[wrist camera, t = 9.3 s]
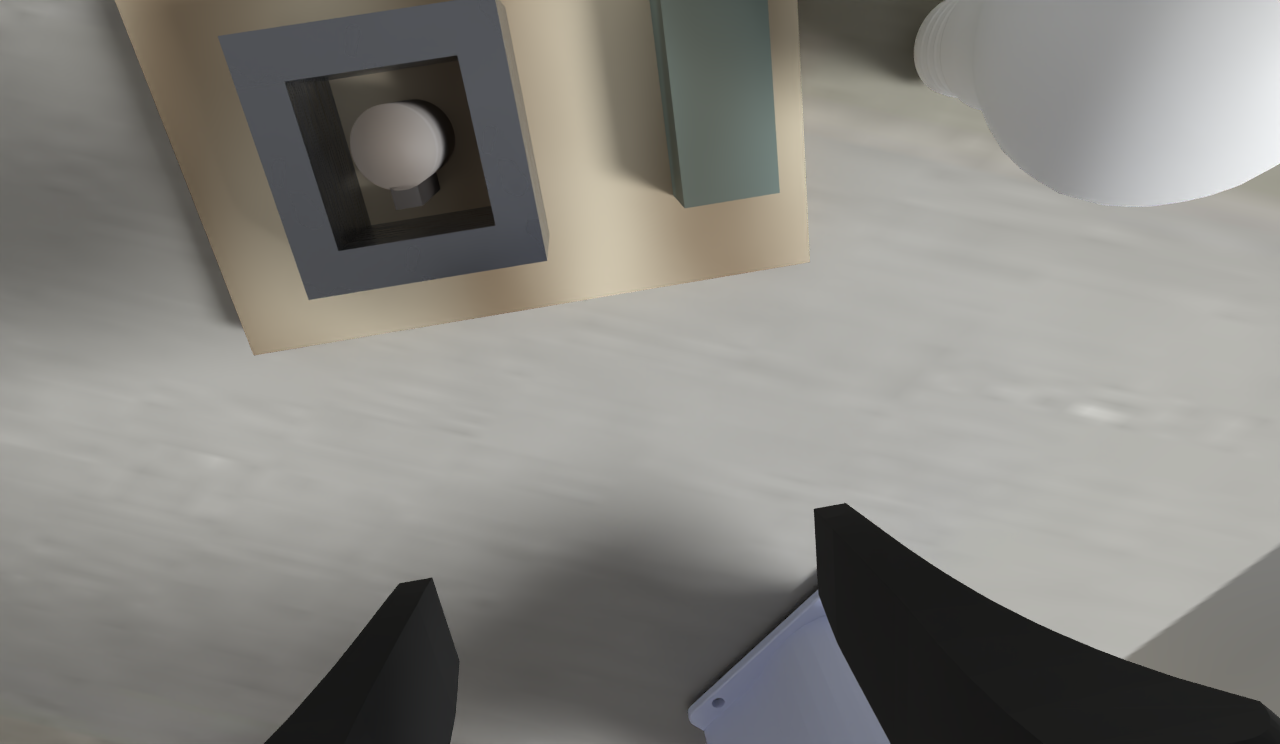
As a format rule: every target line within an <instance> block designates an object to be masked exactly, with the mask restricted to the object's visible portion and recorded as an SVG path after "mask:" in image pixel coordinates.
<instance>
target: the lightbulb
mask: <svg viewBox="0 0 1280 744" xmlns="http://www.w3.org/2000/svg"><path fill="white" fill-rule="evenodd" d="M914 62H915V67H916V70H917V73H918V75H919V77H920V78H921V80H922V82H923V83H924V84H925V85H926V86H927V87H928V88H930V89H931V90H933V91H935V92H937V93H940V94H943V95H946V96H949V97H955V98H958V99H959V100H960V101H961V102H963V103H964V104H966V105H968V106H969V107H972V108H975V109H978V110H981V111H982V113H983V115H984V118H985V120H986V122H987V125H988V127H989V129H990V131H991V133H992V134H993V136H994V138H995V139H996V141H997V142H998V144H999V146H1000V147H1001V149H1002V151H1003V152H1004V153H1005V154H1006V155H1007V156H1008V157H1009V158H1010V159H1011V160H1012V161H1013V162H1014V163H1015V164H1016V165H1017V166H1018V167H1019V168H1020V169H1022V170H1023V171H1024V172H1026V173H1027V174H1029V175H1030V176H1031V177H1033V178H1034V179H1036V180H1037V181H1039V182H1041V183H1042V184H1044V185H1046V186H1048V187H1049V188H1051V189H1053V190H1054V191H1056V192H1058V193H1060V194H1064V195H1067V196H1070V197H1074V198H1077V199H1081V200H1084V201H1088V202H1092V203H1096V204H1100V205H1107V206H1127V207H1142V206H1159V205H1165V204H1172V203H1178V202H1184V201H1189V200H1193V199H1198V198H1202V197H1206V196H1210V195H1213V194H1216V193H1219V192H1222V191H1225V190H1227V189H1230V188H1233V187H1236V186H1239V185H1241V184H1243V183H1245V182H1247V181H1248V180H1250V179H1252V178H1254V177H1256V176H1258V175H1260V174H1262V173H1263V172H1265V171H1267V170H1269V169H1271V168H1273V167H1274V166H1276V165H1278V164H1280V0H945V1H943V2H941V3H940V4H938V5H937V6H936V7H935V8H934V9H933V10H931V12H930V13H929V14H928V15H927V17H926V18H925V19H924V21H923V23H922V24H921V26H920V28H919V31H918V33H917V36H916V40H915V45H914Z"/></svg>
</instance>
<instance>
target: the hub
mask: <svg viewBox="0 0 1280 744" xmlns="http://www.w3.org/2000/svg"><path fill="white" fill-rule="evenodd" d="M218 39H219V42H220V45H221V48H222V50H223V53H224V56H225V59H226V62H227V65H228V68H229V71H230V74H231V77H232V79H233V82H234V85H235V88H236V91H237V94H238V97H239V100H240V103H241V106H242V108H243V111H244V114H245V117H246V120H247V123H248V126H249V129H250V132H251V134H252V137H253V140H254V143H255V146H256V149H257V152H258V155H259V158H260V161H261V163H262V166H263V169H264V172H265V175H266V178H267V181H268V184H269V187H270V189H271V192H272V195H273V198H274V201H275V204H276V207H277V210H278V213H279V216H280V218H281V221H282V224H283V227H284V230H285V233H286V236H287V239H288V242H289V245H290V247H291V250H292V253H293V256H294V259H295V262H296V265H297V268H298V271H299V273H300V276H301V279H302V282H303V285H304V288H305V291H306V294H307V297H308V300H312V299H318V298H324V297H331V296H337V295H343V294H349V293H355V292H361V291H367V290H373V289H379V288H385V287H391V286H397V285H403V284H410V283H416V282H422V281H428V280H434V279H440V278H446V277H452V276H458V275H464V274H470V273H476V272H482V271H489V270H495V269H501V268H507V267H513V266H519V265H525V264H531V263H537V262H543V261H547V258H548V247H549V235H550V234H549V229H548V224H547V218H546V213H545V208H544V203H543V198H542V193H541V188H540V182H539V177H538V172H537V167H536V162H535V157H534V152H533V147H532V141H531V136H530V131H529V126H528V121H527V116H526V111H525V105H524V100H523V95H522V90H521V85H520V80H519V75H518V69H517V64H516V59H515V54H514V49H513V44H512V39H511V34H510V28H509V23H508V18H507V13H506V8H505V6H504V5H503V4H502V3H501V2H500V0H453V1H447V2H440V3H433V4H427V5H420V6H413V7H407V8H400V9H393V10H387V11H380V12H374V13H367V14H360V15H354V16H347V17H340V18H334V19H327V20H321V21H314V22H307V23H301V24H294V25H287V26H281V27H274V28H267V29H261V30H254V31H248V32H241V33H234V34H228V35H221V36H218ZM458 60H459V65H460V69H461V74H462V78H463V83H464V87H465V92H466V96H467V101H468V105H469V109H470V114H471V118H472V123H473V127H474V132H475V136H476V141H477V145H478V150H479V154H480V158H481V163H482V167H483V172H484V176H485V181H486V185H487V190H488V194H489V199H490V203H491V206H488V207H481V208H475V209H469V210H463V211H457V212H450V213H444V214H438V215H432V216H426V217H419V218H413V219H407V220H401V221H395V222H388V223H382V224H376V225H371V222H370V219H369V216H368V212H367V209H366V205H365V202H364V199H363V195H362V192H361V188H360V185H359V182H358V178H357V175H356V172H355V168H354V165H353V161H352V158H351V155H350V151H349V148H348V144H347V141H346V138H345V134H344V131H343V127H342V124H341V121H340V117H339V114H338V110H337V107H336V104H335V100H334V97H333V94H332V90H331V87H330V83H329V80H335V79H341V78H348V77H354V76H361V75H367V74H374V73H380V72H387V71H393V70H400V69H406V68H413V67H419V66H426V65H432V64H439V63H445V62H452V61H458Z"/></svg>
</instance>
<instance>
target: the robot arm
mask: <svg viewBox="0 0 1280 744" xmlns="http://www.w3.org/2000/svg"><path fill="white" fill-rule="evenodd" d="M814 519H815V538H816V557H817V576H818V590H817V591H816V592H815V593H813V594H812V595H811V596H810V597H809V598H808V599H807V600H806V601H805V602H804V603H803V604H801V605H800V606H799V607H798V608H797V609H796V610H795V611H794V612H793V613H792V614H791V615H789V616H788V617H787V618H786V619H785V620H784V621H783V622H782V623H781V624H780V625H779V626H777V627H776V628H775V629H774V630H773V631H772V632H771V633H770V634H769V635H768V636H767V637H765V638H764V639H763V640H762V641H761V642H760V643H759V644H758V645H757V646H756V647H755V648H753V649H752V650H751V651H750V652H749V653H748V654H747V655H746V656H745V657H744V658H743V659H741V660H740V661H739V662H738V663H737V664H736V665H735V666H734V667H733V668H732V669H731V670H729V671H728V672H727V673H726V674H725V675H724V676H723V677H722V678H721V679H720V680H719V681H717V682H716V683H715V684H714V685H713V686H712V687H711V688H710V689H709V690H708V691H707V692H705V693H704V694H703V695H702V696H701V697H700V698H699V699H698V700H697V701H696V702H695V703H693V704H692V705H691V706H690V708H689V709H688V717H689V721H690V723H691V724H693V725H694V726H696V727H698V728H699V729H701V730H703V731H704V733H705V738H706V743H707V744H1280V718H1279V717H1278V716H1277V715H1275V714H1274V713H1273V712H1272V711H1271V710H1270V709H1268V708H1267V707H1266V706H1265V705H1263V704H1262V703H1261V702H1260V701H1256V700H1253V699H1249V698H1246V697H1242V696H1239V695H1235V694H1231V693H1228V692H1225V691H1221V690H1218V689H1214V688H1211V687H1207V686H1204V685H1200V684H1197V683H1193V682H1190V681H1186V680H1183V679H1179V678H1176V677H1173V676H1170V675H1167V674H1164V673H1161V672H1158V671H1155V670H1152V669H1149V668H1147V667H1144V666H1141V665H1138V664H1135V663H1132V662H1129V661H1126V660H1124V659H1121V658H1118V657H1116V656H1113V655H1110V654H1108V653H1105V652H1102V651H1100V650H1097V649H1095V648H1092V647H1090V646H1088V645H1085V644H1083V643H1080V642H1078V641H1076V640H1073V639H1071V638H1069V637H1066V636H1064V635H1062V634H1059V633H1057V632H1055V631H1052V630H1050V629H1048V628H1046V627H1044V626H1041V625H1039V624H1037V623H1035V622H1033V621H1031V620H1029V619H1027V618H1025V617H1023V616H1021V615H1019V614H1017V613H1015V612H1013V611H1011V610H1009V609H1007V608H1005V607H1003V606H1001V605H999V604H997V603H995V602H994V601H992V600H990V599H988V598H986V597H984V596H983V595H981V594H979V593H977V592H976V591H974V590H972V589H971V588H969V587H967V586H966V585H964V584H962V583H961V582H959V581H957V580H956V579H954V578H952V577H951V576H949V575H947V574H946V573H944V572H943V571H941V570H940V569H938V568H936V567H935V566H933V565H932V564H930V563H929V562H927V561H926V560H924V559H923V558H921V557H920V556H918V555H917V554H915V553H914V552H912V551H911V550H909V549H908V548H907V547H905V546H904V545H902V544H901V543H900V542H898V541H897V540H895V539H894V538H893V537H891V536H890V535H889V534H887V533H886V532H884V531H883V530H882V529H880V528H879V527H878V526H876V525H875V524H873V523H872V522H871V521H869V520H868V519H867V518H865V517H864V516H863V515H861V514H860V513H859V512H857V511H856V510H854V509H853V508H852V507H850V506H849V505H848V504H846V503H844V504H839V505H833V506H827V507H822V508H816V509H814ZM458 673H459V658H458V655H457V652H456V649H455V646H454V643H453V640H452V637H451V634H450V631H449V628H448V625H447V622H446V619H445V616H444V613H443V610H442V606H441V603H440V600H439V597H438V594H437V591H436V588H435V585H434V582H433V579H432V578H427V579H422V580H416V581H411V582H405V583H400V584H399V585H398V586H397V587H396V588H395V589H394V591H393V592H392V593H391V594H390V596H389V597H388V598H387V600H386V601H385V602H384V603H383V605H382V606H381V607H380V609H379V610H378V611H377V612H376V614H375V615H374V616H373V618H372V619H371V620H370V621H369V623H368V624H367V625H366V627H365V628H364V629H363V630H362V632H361V633H360V634H359V636H358V637H357V638H356V639H355V641H354V642H353V643H352V644H351V646H350V647H349V648H348V649H347V651H346V652H345V653H344V654H343V656H342V657H341V658H340V659H339V661H338V662H337V663H336V664H335V666H334V667H333V668H332V669H331V670H330V672H329V673H328V674H327V675H326V676H325V677H324V678H323V680H322V681H321V682H320V683H319V684H318V685H317V686H316V688H315V689H314V690H313V691H312V692H311V693H310V694H309V696H308V697H307V698H306V699H305V700H304V701H303V702H302V704H301V705H300V706H299V707H298V708H297V709H296V710H295V712H294V713H293V714H292V715H291V716H290V717H289V718H288V719H287V720H286V721H285V722H284V723H283V725H282V726H281V727H280V728H279V729H278V730H277V731H276V732H275V733H274V734H273V735H272V736H271V737H270V738H269V739H268V740H267V741H266V742H265V743H264V744H450V740H451V735H452V730H453V725H454V719H455V713H456V701H457V689H458ZM716 698H720V699H717V700H714V699H716Z"/></svg>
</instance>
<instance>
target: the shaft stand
mask: <svg viewBox="0 0 1280 744" xmlns="http://www.w3.org/2000/svg"><path fill="white" fill-rule="evenodd" d="M447 1H453V0H115V2H116V5H117V7H118V10H119V12H120V15H121V18H122V20H123V23H124V25H125V28H126V30H127V33H128V35H129V38H130V41H131V43H132V46H133V48H134V51H135V53H136V56H137V58H138V61H139V64H140V66H141V69H142V71H143V74H144V76H145V79H146V81H147V84H148V87H149V89H150V92H151V94H152V97H153V99H154V102H155V104H156V107H157V109H158V112H159V115H160V117H161V120H162V122H163V125H164V127H165V130H166V132H167V135H168V138H169V140H170V143H171V145H172V148H173V150H174V153H175V155H176V158H177V161H178V163H179V166H180V168H181V171H182V173H183V176H184V178H185V181H186V184H187V186H188V189H189V191H190V194H191V196H192V199H193V201H194V204H195V207H196V209H197V212H198V214H199V217H200V219H201V222H202V224H203V227H204V230H205V232H206V235H207V237H208V240H209V242H210V245H211V247H212V250H213V252H214V255H215V258H216V260H217V263H218V265H219V268H220V270H221V273H222V275H223V278H224V281H225V283H226V286H227V288H228V291H229V293H230V296H231V298H232V301H233V304H234V306H235V309H236V311H237V314H238V316H239V319H240V321H241V324H242V327H243V329H244V332H245V334H246V337H247V339H248V342H249V344H250V347H251V350H252V352H253V355H259V354H265V353H271V352H277V351H283V350H289V349H295V348H301V347H307V346H313V345H319V344H325V343H331V342H337V341H343V340H349V339H355V338H361V337H367V336H372V335H378V334H384V333H390V332H396V331H402V330H408V329H414V328H420V327H426V326H432V325H438V324H444V323H450V322H456V321H462V320H468V319H474V318H480V317H486V316H492V315H498V314H504V313H510V312H516V311H522V310H528V309H534V308H540V307H546V306H551V305H557V304H563V303H569V302H575V301H581V300H587V299H593V298H599V297H605V296H611V295H617V294H623V293H629V292H635V291H641V290H647V289H653V288H659V287H665V286H671V285H677V284H683V283H689V282H695V281H701V280H707V279H713V278H719V277H725V276H730V275H736V274H742V273H748V272H754V271H760V270H766V269H772V268H778V267H784V266H790V265H796V264H802V263H808V262H810V254H809V233H808V212H807V191H806V170H805V149H804V128H803V107H802V86H801V65H800V44H799V23H798V2H797V0H500V2H501V3H502V4H503V5H504V6H505V8H506V13H507V18H508V23H509V28H510V34H511V39H512V44H513V49H514V54H515V59H516V64H517V69H518V75H519V80H520V85H521V90H522V95H523V100H524V105H525V111H526V116H527V121H528V126H529V131H530V136H531V141H532V147H533V152H534V157H535V162H536V167H537V172H538V177H539V182H540V188H541V193H542V198H543V203H544V208H545V213H546V218H547V224H548V229H549V234H550V235H549V247H548V258H547V261H543V262H537V263H531V264H525V265H519V266H513V267H507V268H501V269H495V270H489V271H482V272H476V273H470V274H464V275H458V276H452V277H446V278H440V279H434V280H428V281H422V282H416V283H410V284H403V285H397V286H391V287H385V288H379V289H373V290H367V291H361V292H355V293H349V294H343V295H337V296H331V297H324V298H318V299H312V300H308V297H307V294H306V291H305V288H304V285H303V282H302V279H301V276H300V273H299V271H298V268H297V265H296V262H295V259H294V256H293V253H292V250H291V247H290V245H289V242H288V239H287V236H286V233H285V230H284V227H283V224H282V221H281V218H280V216H279V213H278V210H277V207H276V204H275V201H274V198H273V195H272V192H271V189H270V187H269V184H268V181H267V178H266V175H265V172H264V169H263V166H262V163H261V161H260V158H259V155H258V152H257V149H256V146H255V143H254V140H253V137H252V134H251V132H250V129H249V126H248V123H247V120H246V117H245V114H244V111H243V108H242V106H241V103H240V100H239V97H238V94H237V91H236V88H235V85H234V82H233V79H232V77H231V74H230V71H229V68H228V65H227V62H226V59H225V56H224V53H223V50H222V48H221V45H220V42H219V39H218V36H221V35H228V34H234V33H241V32H248V31H254V30H261V29H267V28H274V27H281V26H287V25H294V24H301V23H307V22H314V21H321V20H327V19H334V18H340V17H347V16H354V15H360V14H367V13H374V12H380V11H387V10H393V9H400V8H407V7H413V6H420V5H427V4H433V3H440V2H447ZM329 83H330V87H331V90H332V94H333V97H334V100H335V104H336V107H337V110H338V114H339V117H340V121H341V124H342V127H343V131H344V134H345V138H346V141H347V144H348V148H349V151H350V155H351V158H352V161H353V165H354V168H355V172H356V175H357V178H358V182H359V185H360V188H361V192H362V195H363V199H364V202H365V205H366V209H367V212H368V216H369V219H370V222H371V225H376V224H382V223H388V222H395V221H401V220H407V219H413V218H419V217H426V216H432V215H438V214H444V213H450V212H457V211H463V210H469V209H475V208H481V207H488V206H491V203H490V199H489V194H488V190H487V185H486V181H485V176H484V172H483V167H482V163H481V158H480V154H479V150H478V145H477V141H476V136H475V132H474V127H473V123H472V118H471V114H470V109H469V105H468V101H467V96H466V92H465V87H464V83H463V78H462V74H461V69H460V65H459V60H458V61H452V62H445V63H439V64H432V65H426V66H419V67H413V68H406V69H400V70H393V71H387V72H380V73H374V74H367V75H361V76H354V77H348V78H341V79H335V80H329Z"/></svg>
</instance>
